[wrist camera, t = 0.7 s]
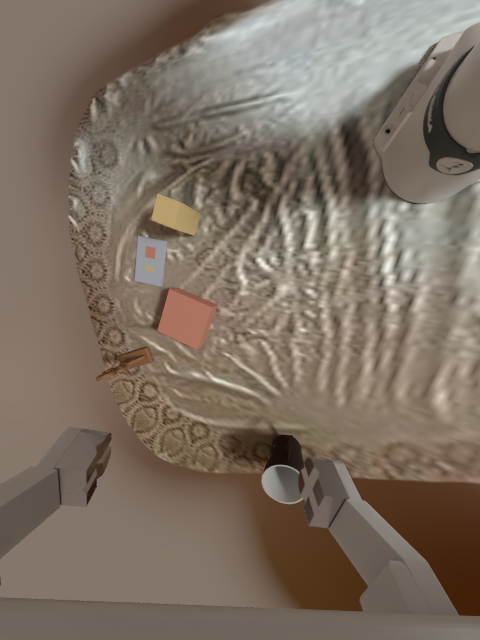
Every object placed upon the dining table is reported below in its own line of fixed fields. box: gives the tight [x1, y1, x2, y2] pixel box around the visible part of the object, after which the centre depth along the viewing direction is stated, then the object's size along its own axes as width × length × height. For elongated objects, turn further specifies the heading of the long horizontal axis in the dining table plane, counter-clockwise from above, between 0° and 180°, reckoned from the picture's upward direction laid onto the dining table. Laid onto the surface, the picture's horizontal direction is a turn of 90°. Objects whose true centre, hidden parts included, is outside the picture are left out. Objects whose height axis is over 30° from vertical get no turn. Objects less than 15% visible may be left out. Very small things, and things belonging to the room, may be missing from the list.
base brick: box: [158, 288, 218, 350], centre depth 52 cm, size 10×10×4 cm
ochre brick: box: [151, 194, 201, 236], centre depth 45 cm, size 4×4×9 cm
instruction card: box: [134, 236, 167, 287], centre depth 53 cm, size 10×7×1 cm
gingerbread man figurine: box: [96, 347, 154, 381], centre depth 54 cm, size 9×4×12 cm, turn 110°
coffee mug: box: [262, 435, 304, 504], centre depth 49 cm, size 12×9×10 cm
